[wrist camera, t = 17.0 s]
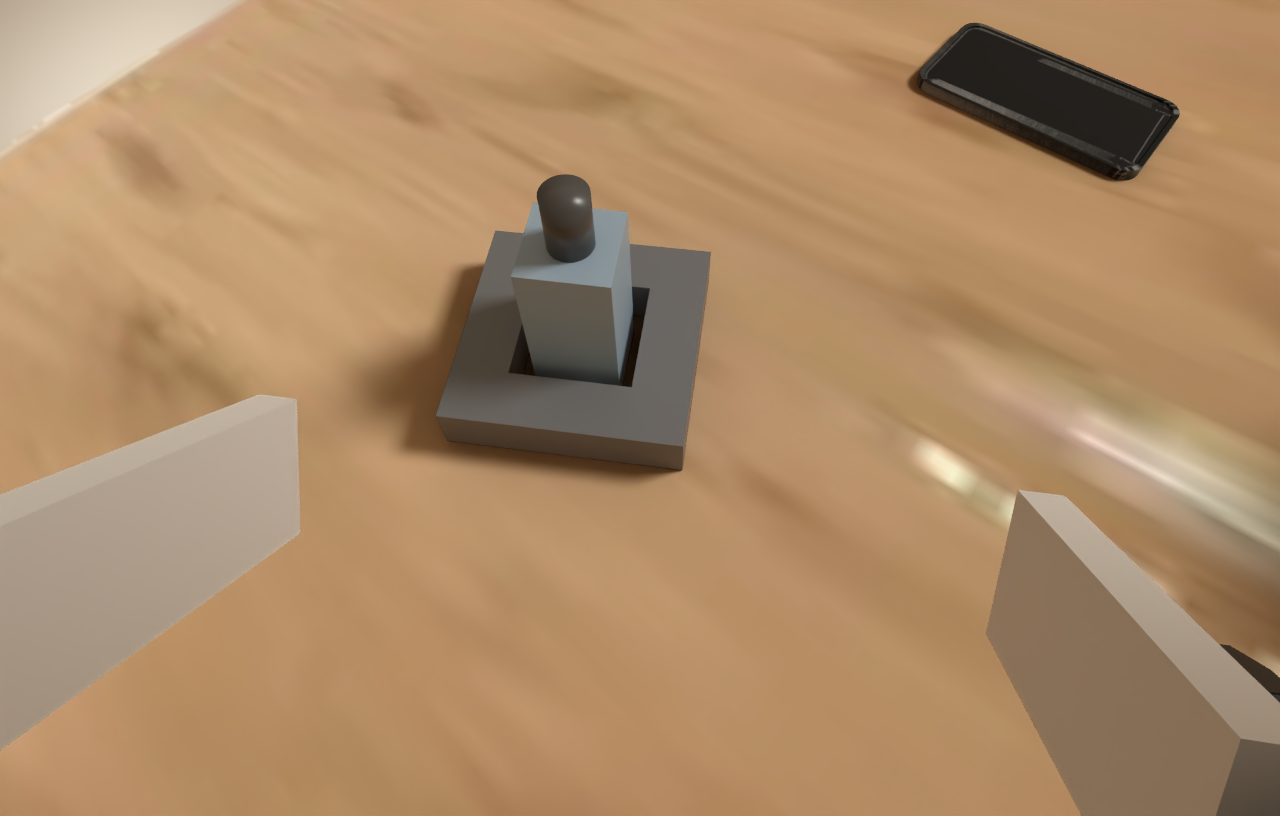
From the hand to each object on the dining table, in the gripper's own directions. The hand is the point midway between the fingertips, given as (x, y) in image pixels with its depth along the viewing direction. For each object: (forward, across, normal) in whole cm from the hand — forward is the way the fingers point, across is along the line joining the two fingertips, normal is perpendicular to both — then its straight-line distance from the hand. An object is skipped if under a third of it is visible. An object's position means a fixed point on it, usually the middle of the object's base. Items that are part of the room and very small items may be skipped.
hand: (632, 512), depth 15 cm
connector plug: (+28, -6, -3) cm, 29 cm away
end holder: (+28, -7, -3) cm, 29 cm away
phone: (+46, +19, +13) cm, 52 cm away
